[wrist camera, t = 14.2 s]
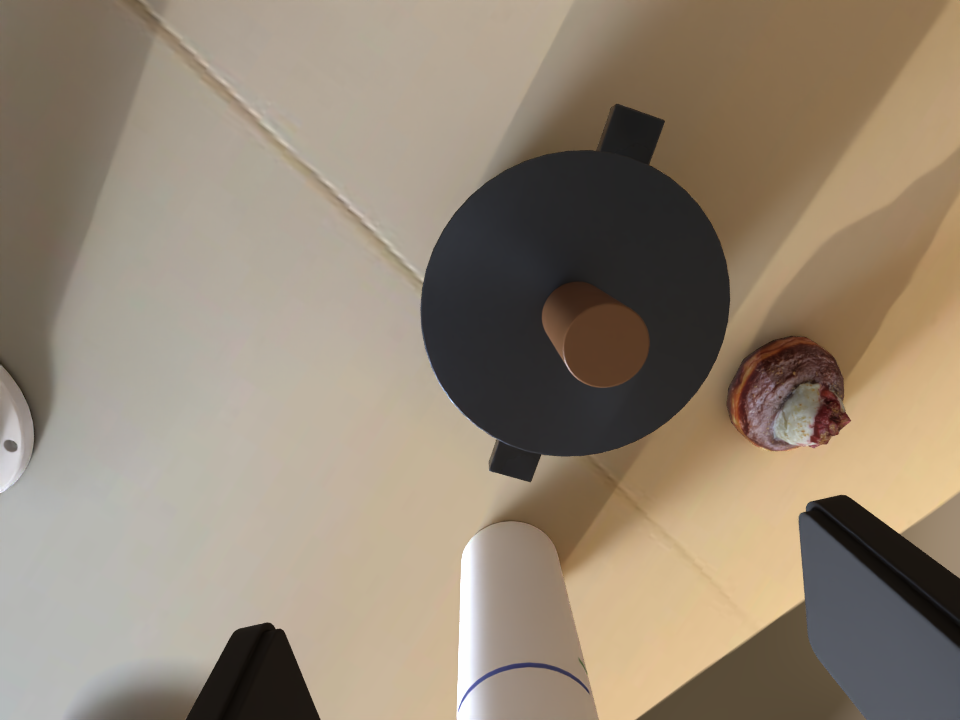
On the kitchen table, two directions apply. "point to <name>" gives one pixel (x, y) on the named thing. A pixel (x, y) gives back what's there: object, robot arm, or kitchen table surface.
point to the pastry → (788, 396)
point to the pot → (620, 136)
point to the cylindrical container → (518, 631)
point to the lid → (575, 303)
